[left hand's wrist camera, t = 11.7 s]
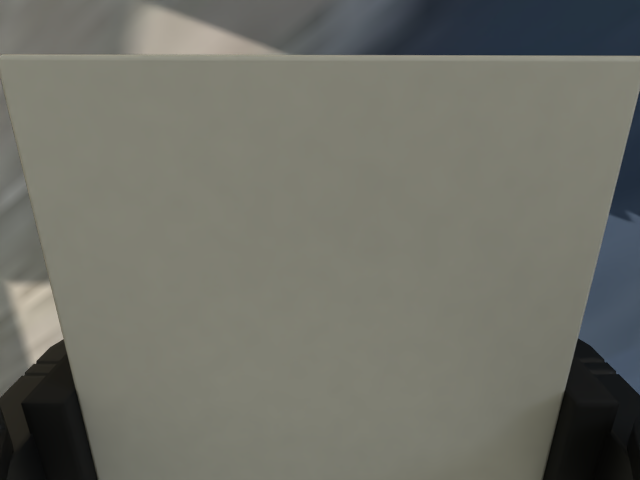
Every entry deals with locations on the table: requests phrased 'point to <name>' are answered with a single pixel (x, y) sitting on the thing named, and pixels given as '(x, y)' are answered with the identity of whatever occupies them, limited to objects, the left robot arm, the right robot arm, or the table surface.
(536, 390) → the thick board
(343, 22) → the table surface
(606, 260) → the table surface
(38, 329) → the table surface
